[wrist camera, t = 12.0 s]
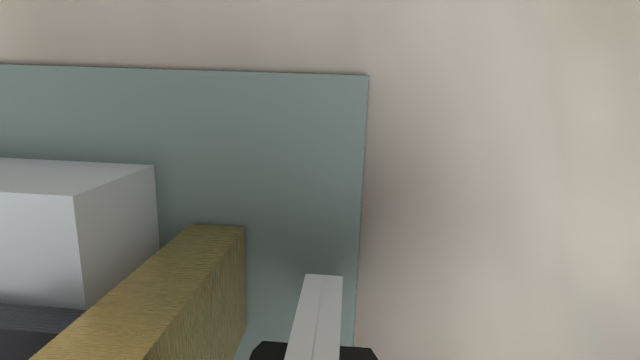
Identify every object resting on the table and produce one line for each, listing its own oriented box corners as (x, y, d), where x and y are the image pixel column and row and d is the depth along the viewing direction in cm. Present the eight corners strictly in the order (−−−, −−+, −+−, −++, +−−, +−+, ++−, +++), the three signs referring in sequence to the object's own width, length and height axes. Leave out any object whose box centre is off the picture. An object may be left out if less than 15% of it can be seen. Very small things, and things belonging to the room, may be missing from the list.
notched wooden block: (134, 319, 18) (-74, 539, 9) (125, 219, 17) (-121, 361, 8) (246, 328, 18) (141, 566, 9) (244, 226, 17) (123, 383, 8)
